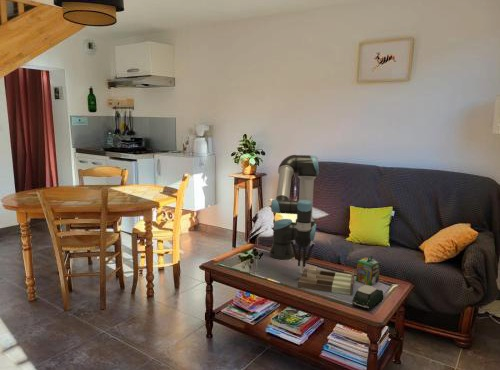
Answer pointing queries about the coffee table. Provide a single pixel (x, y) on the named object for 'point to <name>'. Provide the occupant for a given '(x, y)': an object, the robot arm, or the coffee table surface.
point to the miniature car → (367, 296)
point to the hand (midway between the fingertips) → (301, 272)
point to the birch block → (312, 272)
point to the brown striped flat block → (328, 282)
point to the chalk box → (368, 270)
